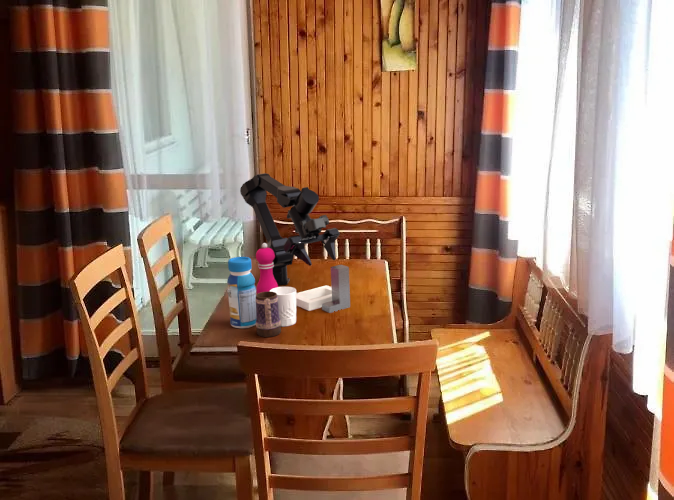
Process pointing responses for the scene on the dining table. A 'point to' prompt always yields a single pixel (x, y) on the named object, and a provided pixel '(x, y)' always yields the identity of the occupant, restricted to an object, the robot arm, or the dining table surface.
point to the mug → (267, 314)
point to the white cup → (286, 304)
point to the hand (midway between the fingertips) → (322, 262)
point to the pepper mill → (265, 269)
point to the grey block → (339, 289)
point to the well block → (305, 297)
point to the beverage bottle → (241, 293)
